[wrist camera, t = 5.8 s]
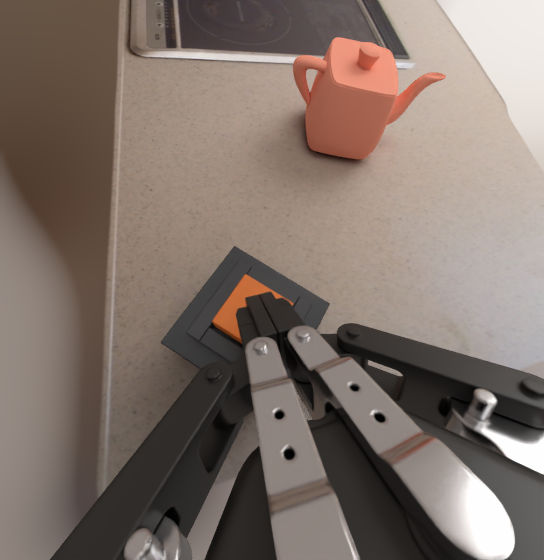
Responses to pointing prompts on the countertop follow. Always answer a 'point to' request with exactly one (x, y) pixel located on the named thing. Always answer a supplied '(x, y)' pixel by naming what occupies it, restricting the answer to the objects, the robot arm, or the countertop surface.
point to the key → (239, 305)
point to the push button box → (199, 314)
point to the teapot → (353, 96)
